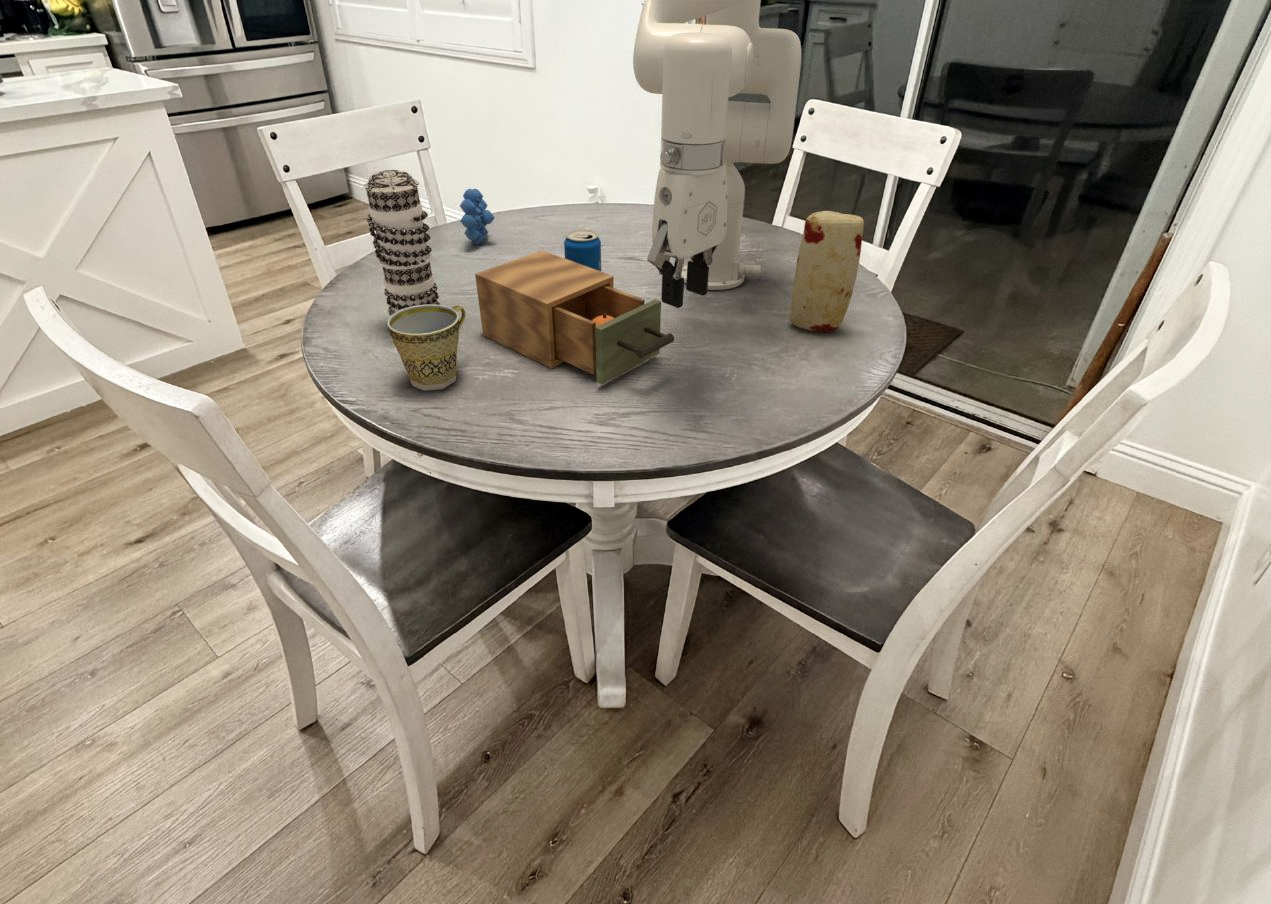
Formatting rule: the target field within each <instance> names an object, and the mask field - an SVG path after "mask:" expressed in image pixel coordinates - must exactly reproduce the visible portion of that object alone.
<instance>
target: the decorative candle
mask: <svg viewBox="0 0 1271 904" xmlns="http://www.w3.org/2000/svg"><path fill="white" fill-rule="evenodd" d="M419 185H420V181H419V180H417V179H414V177H413V176H412V175H411V174H410V173H408V172H407V171H404V170H400V169H386V170H379V171H377V172H374V173H372V174H371V175H370V177H369V178H368V182H366V183H364V185H363V189H365V191H366V196H367V201H368V208H367V209H368V212H369V213H368V214H367V217H366V222H367V224H368V226H369V228H368V231H369V234H370V236H372V237H373V240H372V245H373V247H374V249H375V250H374V253H375V257H376V259H377V264H379V265H380V267H382V272H383V276H384V278H383V284H384V291H383V292H384V295H385V297H386V298H385V299H386V304H387V305H388V308H387V313H388V315H389V317H390V316H391V315H393V314H394V313H396V312H397V311H399V310H402V309H405V308H408V307H412V306H417V305H425V304H436V305H441V302H440V301H438V300H439V298H440V297H439V296H440V295H439V293H438V291H437V290H438V285H437V283H436V282H435V277H434V273H433V271H432V266H431V261H432V259H433V254H432V253H431V252H432V251H433V250H432V248H431V246H429V245H428V244H427V243H428V242H429V241H430V240H431V239H432V238H431V235H430V234H429V233H427V232H428V231H429V230H430V226H429V225H428V224H426V222H424V220H426V218H428V217H429V214H428V213H427V212H426V211H425V210H423V204H422V201H421V200H420V194H419V188H418V186H419Z"/></svg>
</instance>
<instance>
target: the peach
mask: <svg viewBox="0 0 1271 904" xmlns="http://www.w3.org/2000/svg"><path fill="white" fill-rule="evenodd" d="M612 319H614V318H613V317H611V316H608V315H606V314H605V313H604V314H603V315H602V316H598V317H596V318H594V319H593V320H592V321H593V322H595V323H596V327H597V326H599V325H601V324H604V323H606V322H608V321H610V320H612Z"/></svg>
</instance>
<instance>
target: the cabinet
mask: <svg viewBox="0 0 1271 904" xmlns="http://www.w3.org/2000/svg"><path fill="white" fill-rule="evenodd" d="M474 276H475V284H476V285H475V286H476V292H477V299H478V308H479V313H480V314H479V315H480V321H481V322H480V323H481V331H482V336H483V337H486V338H488V339H490V340H492V341H494V342H496V343H498V344H499V345H502V346H504V347H506V348H507V349H510V350H513V351H515V352H517V353H519V354H521V355H522V356H525V357H527V358H529V359H531V360H533V361H535V362H537V363H540V364H541V365H544V366H546V367H547V368H549V369H553V368H555V367H557V366H560V365H562V364H564V363H566V362H565V361H563V360H561V359H559V358H557V357H555V350H554V335H553V320H552V307H554V306H556V305H559V304H561V303H563V302H566V301H568V300H570V299H573V298H575V297H578V296H580V295H582V294H585V293H587V292H589V291H592V290H594V289H596V288H599V287H601V286H603V285H607V286H609V287H612V288H615V286H614V282H615V281H614V280H615V279H614V278H615V277H614V275H613V274H612V275H611V274H609V273H606V272H604V271H602V270H601V271H598V270H595V269H592V268H590V267H587V266H584V265H581V264H579V263H576V262H573V261H570V260H567V259H565V257H561V256H559V255H556V254H553V253H551V252H548V251H545V250H539V251H535V252H533V253H530V254H527V255H525V256H522V257H519V258H516V259H513V260H510V261H507V262H505V263H502V264H499V265H496V266H493V267H491V268H488V269H485V270H482V271H478V272H476V273H474Z"/></svg>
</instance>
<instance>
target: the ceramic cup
mask: <svg viewBox="0 0 1271 904" xmlns="http://www.w3.org/2000/svg"><path fill="white" fill-rule="evenodd" d="M459 311H460V312H461V316H460V314H459V313H458V312H459ZM465 320H466V311H465V309H464V307H463V306H461V305H454V306H448V305H443V304H440V305H436V304H425V305H417V306H412V307H408V308H405V309H402V310H399V311H397V312H396V313H394V314H393V315H391V316H390V315H389V317H388V319H387V321H386V326H387V329H388V332H389V335H390V337H391V340H392V342H393V344H394V347H395V349H396V351H397V353H398V354H399V356H400V359H401V362H402V364H403V366H404V368H405V372H406V374H407V376H408V379H409V381H410V383H411V385H412V387H414V388H417V389H419V390H421V391H425V392H426V391H427V392H428V391H436V390H444V389H445V388H447V387H448V386H451V385H452V384H454V383H455V382H456V381H457V358H458V355H457V354H458V344H459V337H460V329H461V328H462V325H464V322H465Z"/></svg>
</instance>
